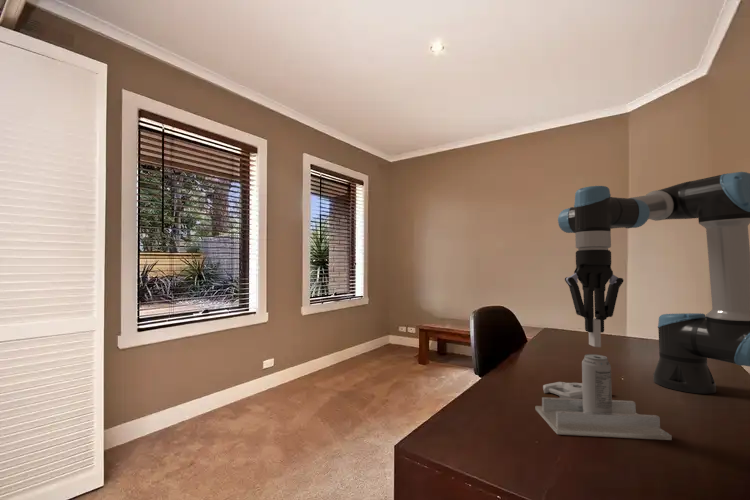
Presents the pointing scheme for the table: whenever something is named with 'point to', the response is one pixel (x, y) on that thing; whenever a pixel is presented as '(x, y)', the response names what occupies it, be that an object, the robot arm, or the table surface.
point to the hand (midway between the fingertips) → (594, 345)
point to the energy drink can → (596, 384)
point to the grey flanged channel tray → (600, 420)
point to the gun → (565, 389)
